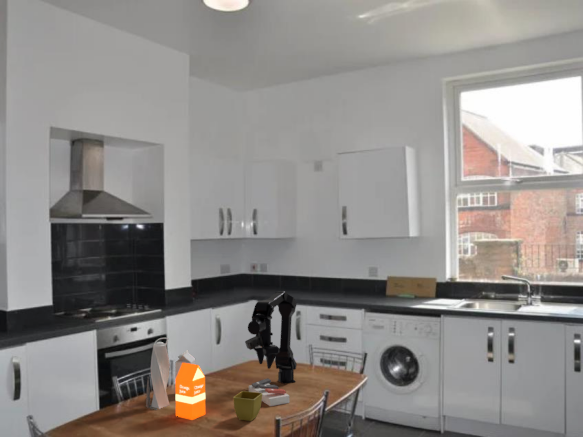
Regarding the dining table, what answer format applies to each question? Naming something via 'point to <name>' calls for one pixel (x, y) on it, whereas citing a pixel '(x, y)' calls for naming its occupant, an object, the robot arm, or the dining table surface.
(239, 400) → the flower pot
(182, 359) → the milk carton
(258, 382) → the rocker near
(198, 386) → the orange juice
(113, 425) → the dining table surface
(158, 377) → the skyscraper
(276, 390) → the rocker red
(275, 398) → the power strip
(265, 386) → the rocker middle
